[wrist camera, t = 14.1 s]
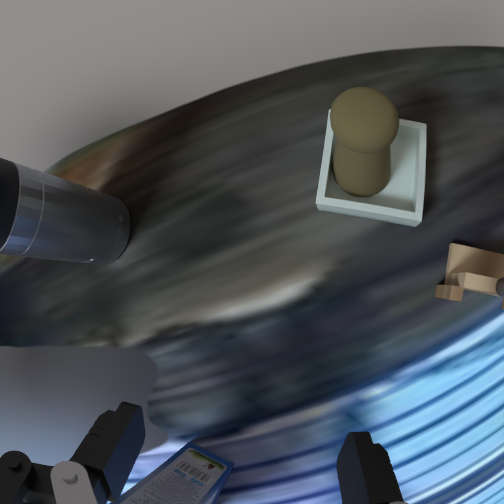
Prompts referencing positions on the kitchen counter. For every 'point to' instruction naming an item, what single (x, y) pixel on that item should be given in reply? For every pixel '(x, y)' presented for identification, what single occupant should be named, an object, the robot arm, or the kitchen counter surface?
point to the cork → (363, 140)
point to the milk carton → (182, 479)
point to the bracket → (472, 273)
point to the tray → (396, 191)
